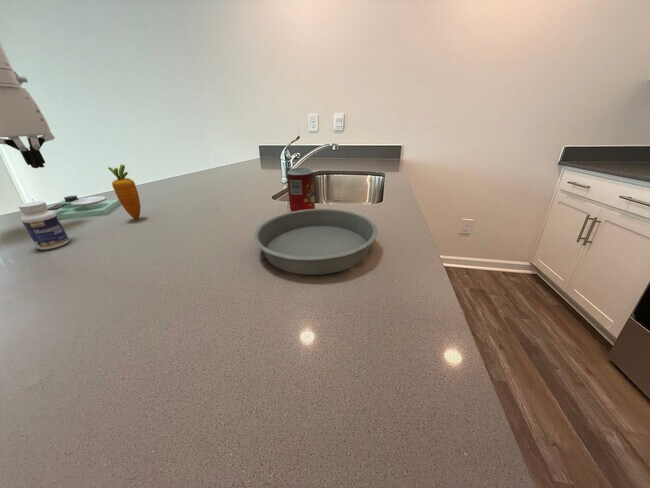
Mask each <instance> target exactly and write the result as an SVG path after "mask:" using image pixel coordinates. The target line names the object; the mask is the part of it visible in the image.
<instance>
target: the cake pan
mask: <svg viewBox="0 0 650 488" xmlns="http://www.w3.org/2000/svg"><path fill="white" fill-rule="evenodd" d="M378 234H379V233H378V228H377V225H376V224H375V223H374V222H373V221H372V220H371V219H370V218H368V217H365V216H364V215H361V214H359V213H356V212H352V211H347V210H343V209H335V208H314V209H308V210H299V211H294V212H292V211H289V212H286V213H282V214H279V215H276V216H274V217H271V218H269V219H267V220H266V221H264V222H262V223H261V224H260V225H259V226H258V227H257V228H256V229H255V230H254V233H253V238H252V239H253V242H254V244H255V245H256V247H258V249H260V250H261V251H263V253H264V256H265V257H266V260H267V261H268V262H269V263H270V264H271V265H272V266H274V267H275V268H277V269H279V270H281V271H284V272H287V273H290V274H291V273H292V274H297V275H305V276H321V275H328V274H329V275H330V274H334V273H339V272H342V271H346V270H348V269H350V268H353V267H355V266H357V265H358V264H359V263H361V262H362V261H363V260H364V259H365V258H366V256H367V255H368V252H369V250H370V246H371V245H372V244H373V243H374V242H375V240H376V239H377V237H378Z"/></svg>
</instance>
